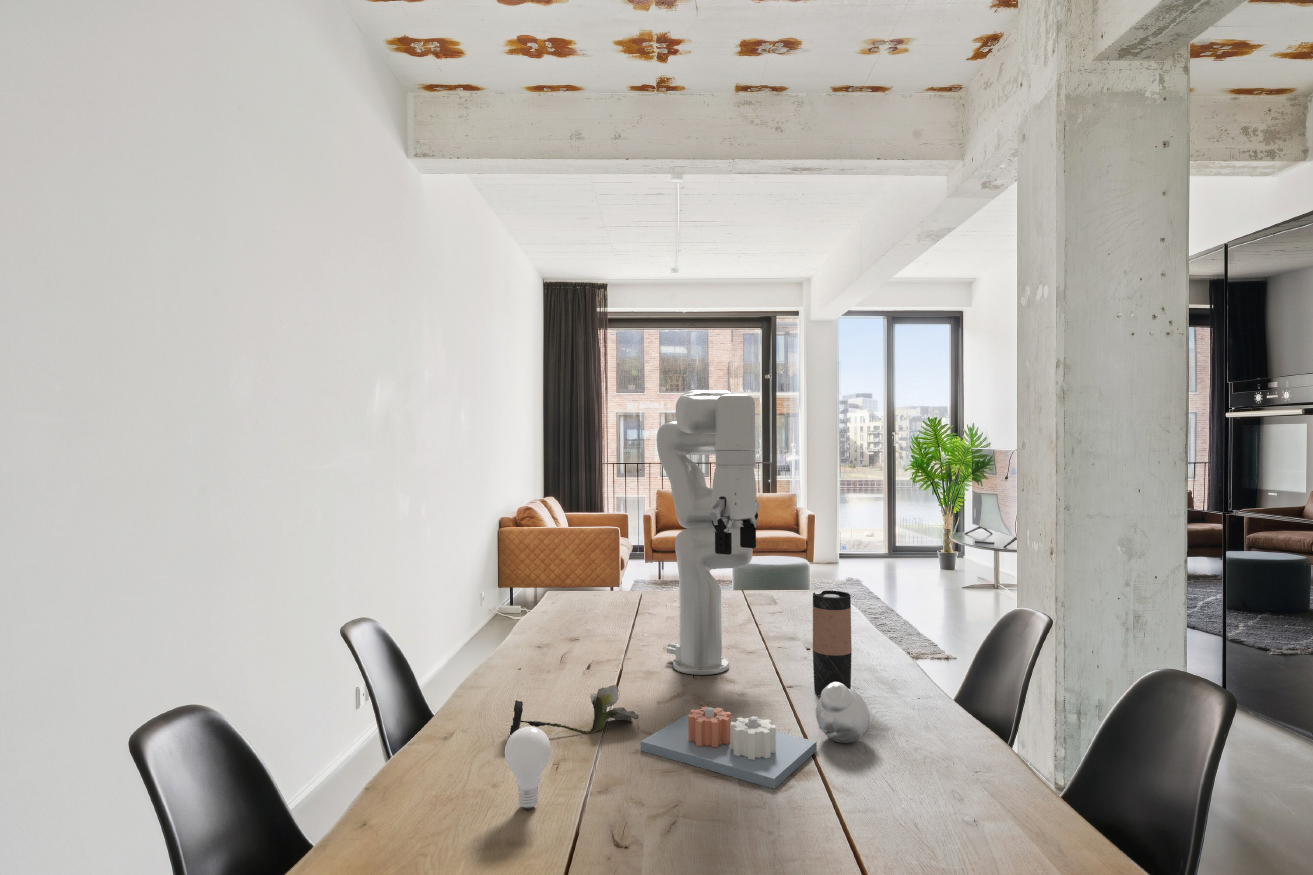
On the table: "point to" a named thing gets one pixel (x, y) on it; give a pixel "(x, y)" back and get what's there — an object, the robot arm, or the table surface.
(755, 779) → the gear board
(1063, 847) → the table surface
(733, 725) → the cream gear
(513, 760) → the lightbulb
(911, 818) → the table surface
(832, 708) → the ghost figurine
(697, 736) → the terracotta gear
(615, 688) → the artificial flower
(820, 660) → the travel mug
